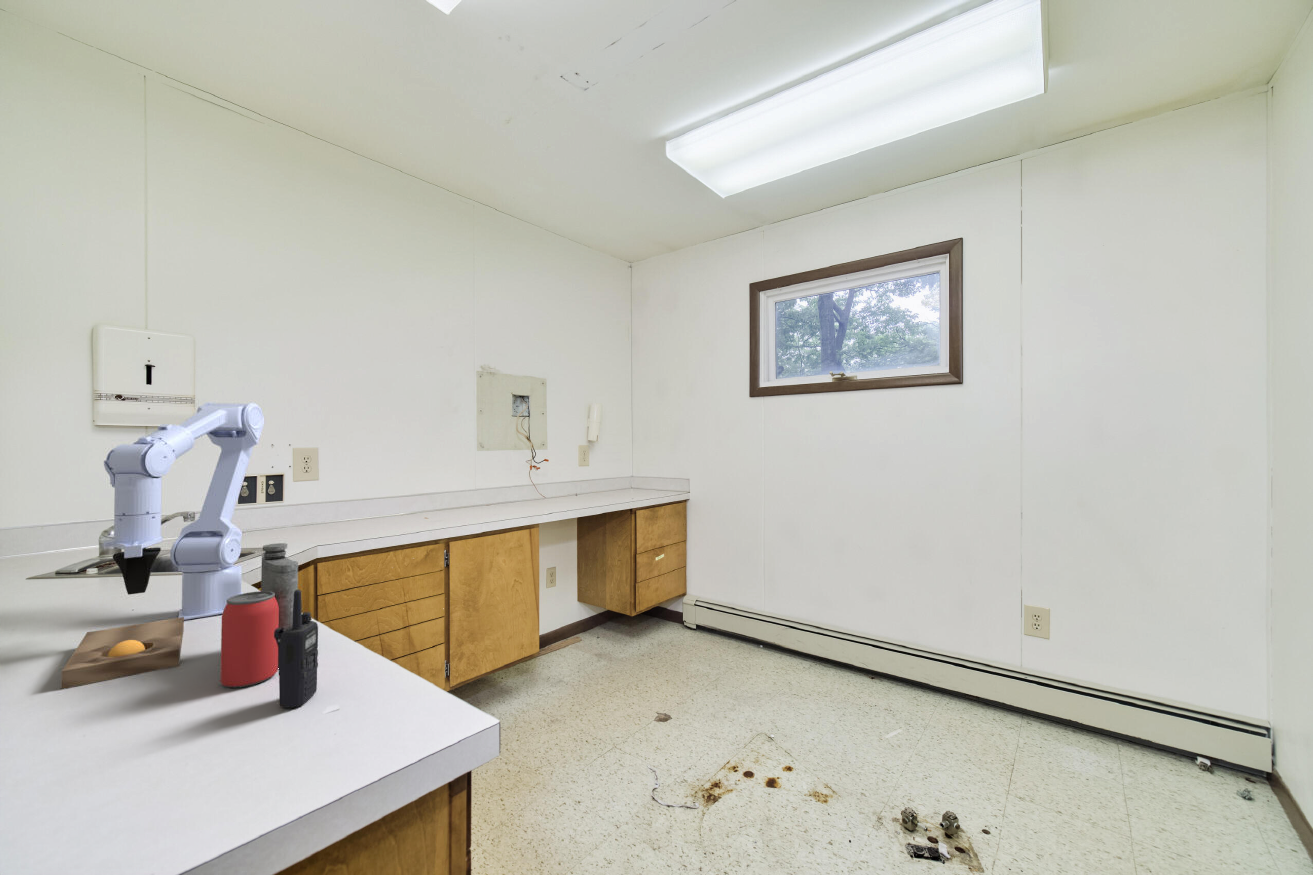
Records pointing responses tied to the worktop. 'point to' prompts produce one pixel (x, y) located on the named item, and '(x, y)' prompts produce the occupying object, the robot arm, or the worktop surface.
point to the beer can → (249, 639)
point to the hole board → (97, 666)
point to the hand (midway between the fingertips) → (137, 592)
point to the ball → (126, 648)
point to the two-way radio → (297, 657)
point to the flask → (280, 580)
